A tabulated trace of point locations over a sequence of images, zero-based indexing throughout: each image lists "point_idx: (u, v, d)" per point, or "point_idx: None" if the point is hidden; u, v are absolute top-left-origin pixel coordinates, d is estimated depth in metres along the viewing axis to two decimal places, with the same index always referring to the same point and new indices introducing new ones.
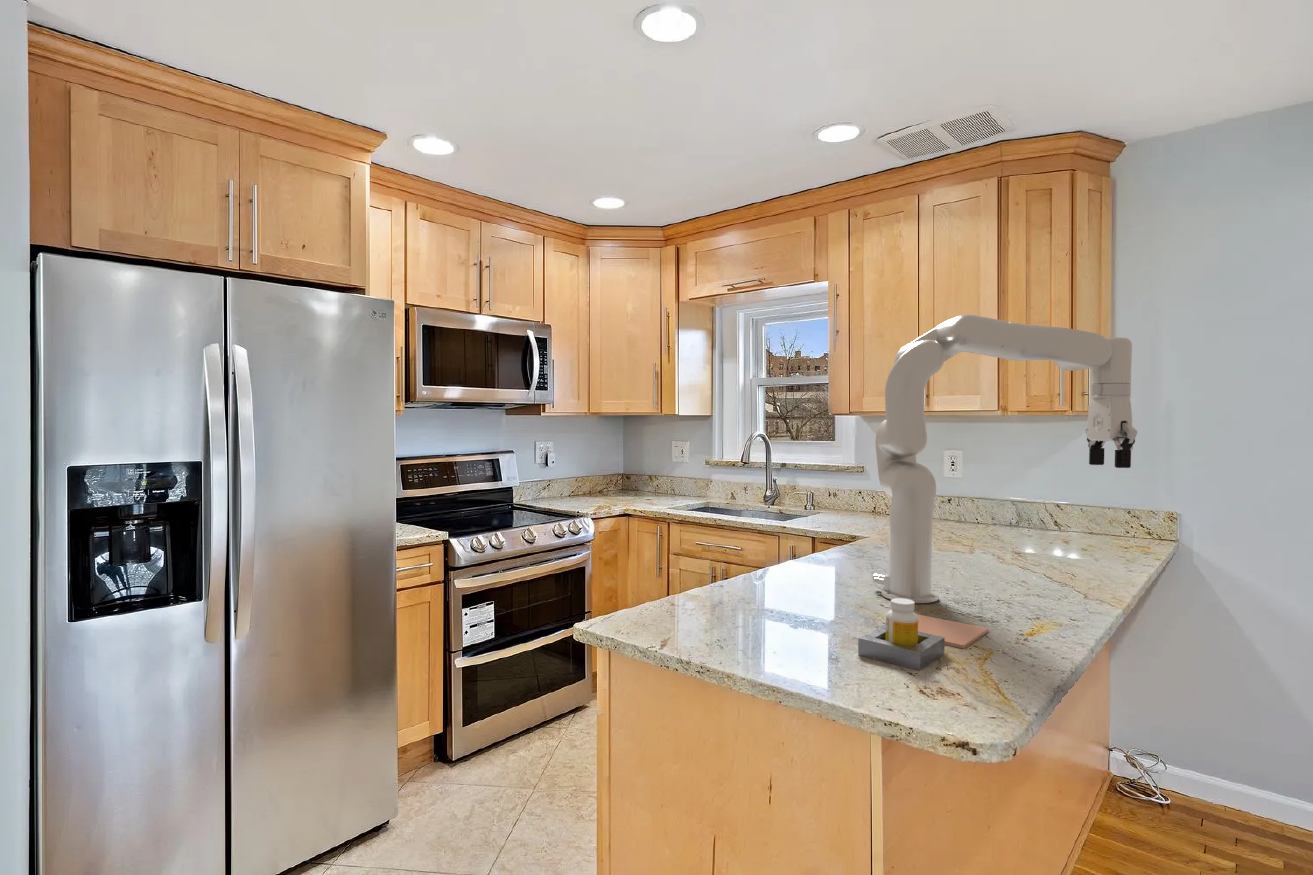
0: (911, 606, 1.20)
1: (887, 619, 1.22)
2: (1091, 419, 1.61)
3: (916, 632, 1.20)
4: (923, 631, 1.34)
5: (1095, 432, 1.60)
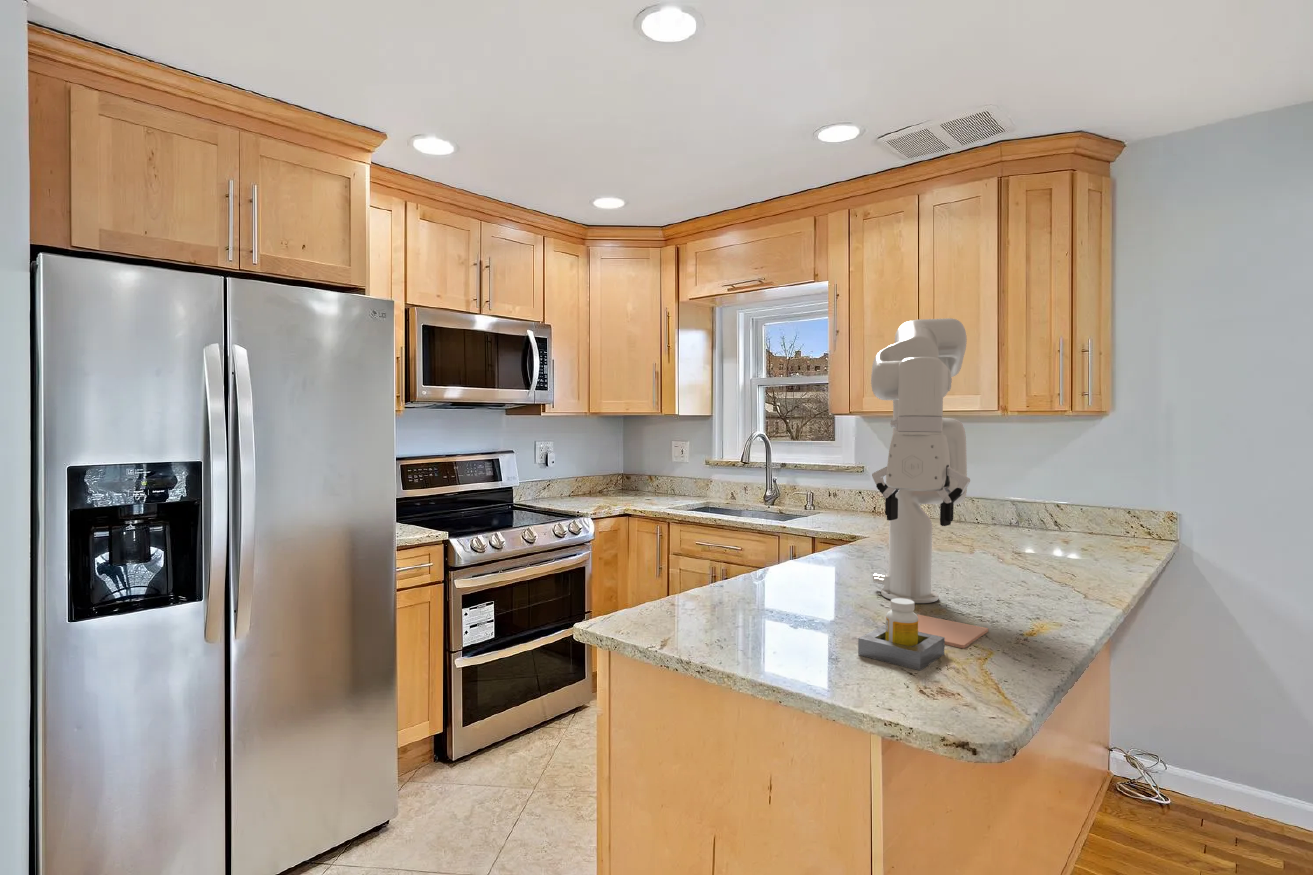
0: (911, 606, 1.20)
1: (887, 619, 1.22)
2: (898, 462, 1.23)
3: (916, 632, 1.20)
4: (923, 631, 1.34)
5: (907, 479, 1.22)
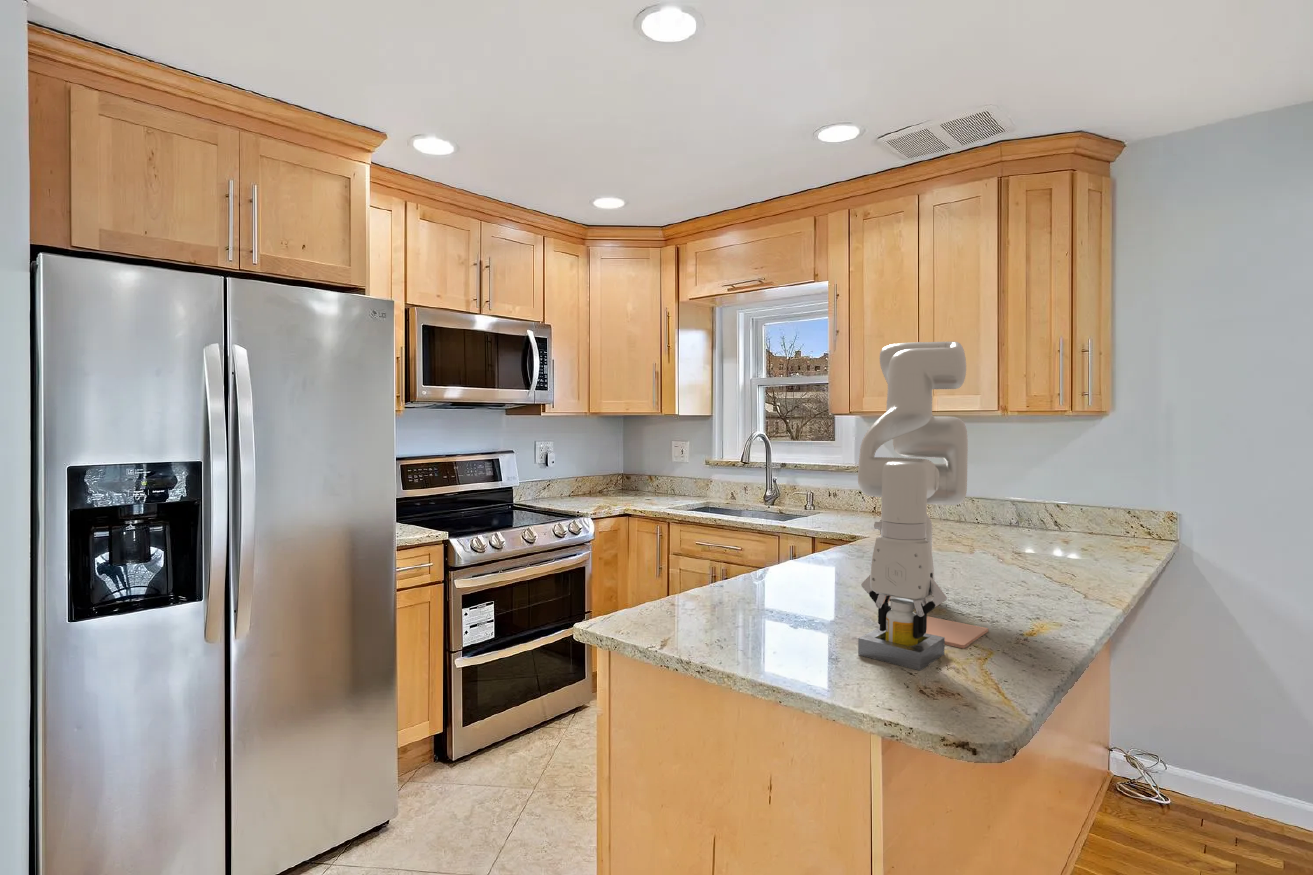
0: (911, 606, 1.20)
1: (887, 619, 1.22)
2: (882, 567, 1.21)
3: None
4: None
5: (891, 585, 1.20)
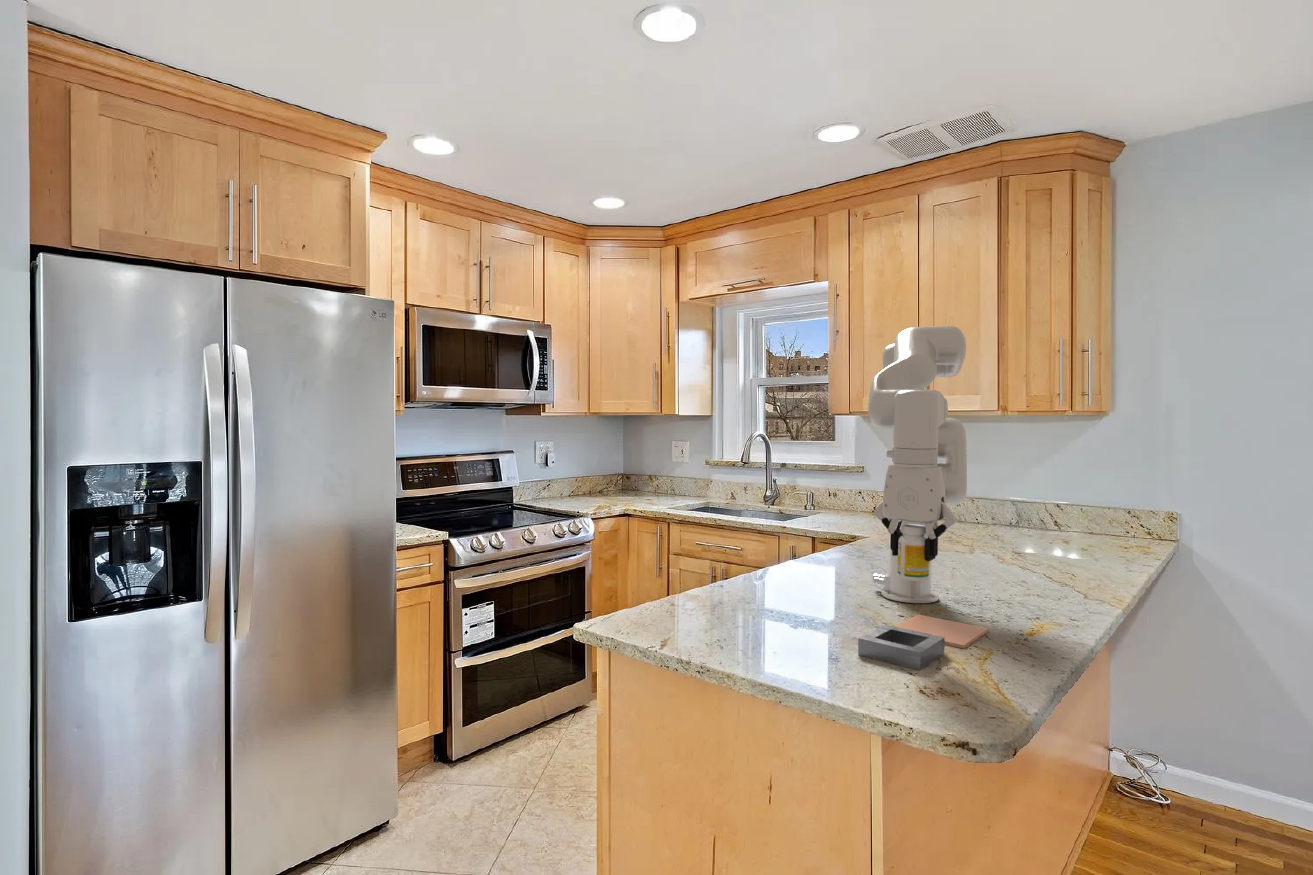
0: (923, 530, 1.24)
1: (899, 543, 1.25)
2: (894, 493, 1.25)
3: None
4: (923, 631, 1.34)
5: (903, 510, 1.24)
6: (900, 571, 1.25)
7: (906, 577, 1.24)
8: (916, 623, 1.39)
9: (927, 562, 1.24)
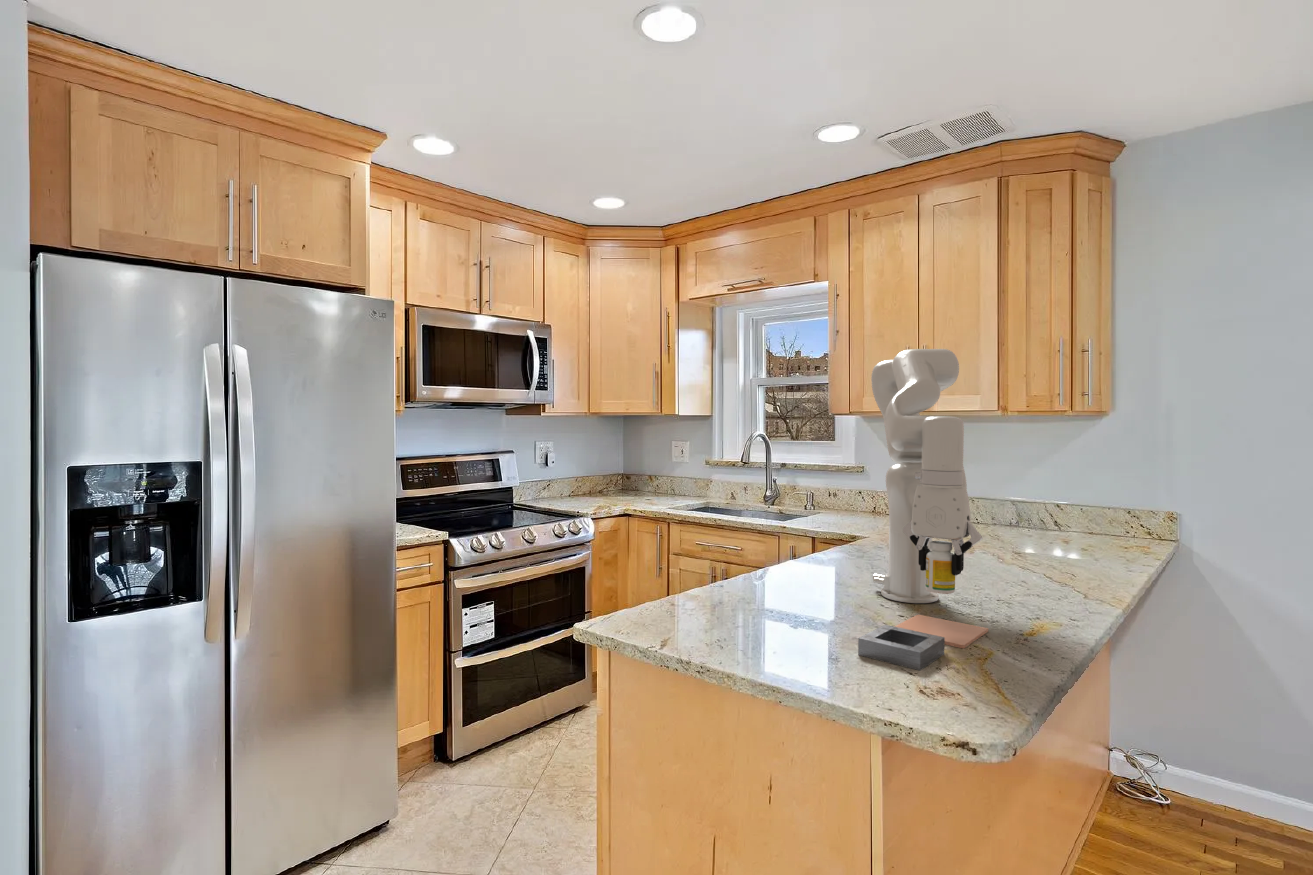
0: (950, 546, 1.33)
1: (927, 559, 1.35)
2: (922, 511, 1.34)
3: None
4: (923, 631, 1.34)
5: (931, 528, 1.33)
6: (928, 584, 1.34)
7: (934, 590, 1.33)
8: (916, 623, 1.39)
9: (954, 576, 1.33)
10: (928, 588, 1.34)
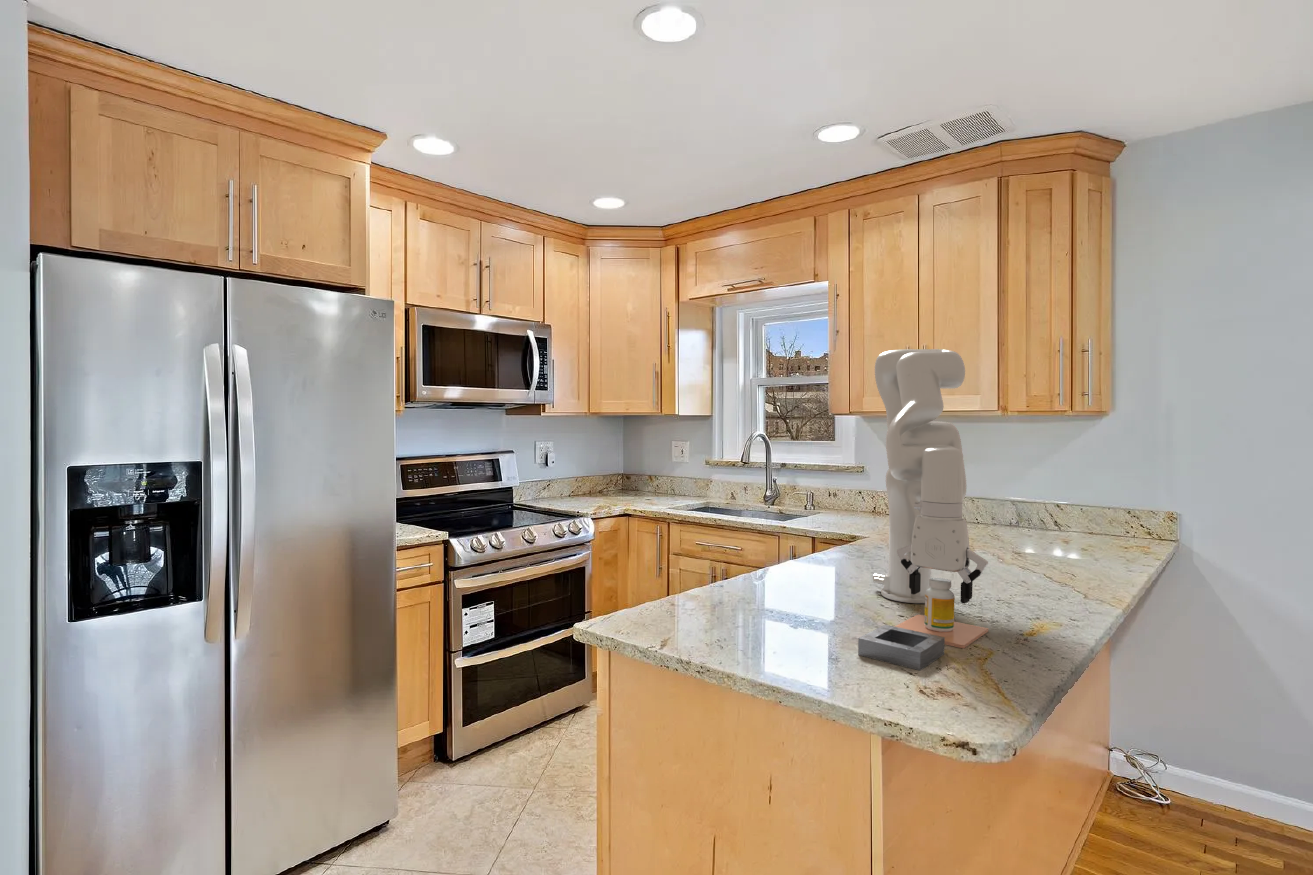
0: (948, 584, 1.34)
1: (926, 596, 1.35)
2: (922, 542, 1.35)
3: (953, 608, 1.34)
4: (923, 631, 1.34)
5: (931, 559, 1.34)
6: (927, 622, 1.35)
7: (933, 628, 1.34)
8: (916, 623, 1.39)
9: (952, 614, 1.34)
10: (927, 626, 1.35)
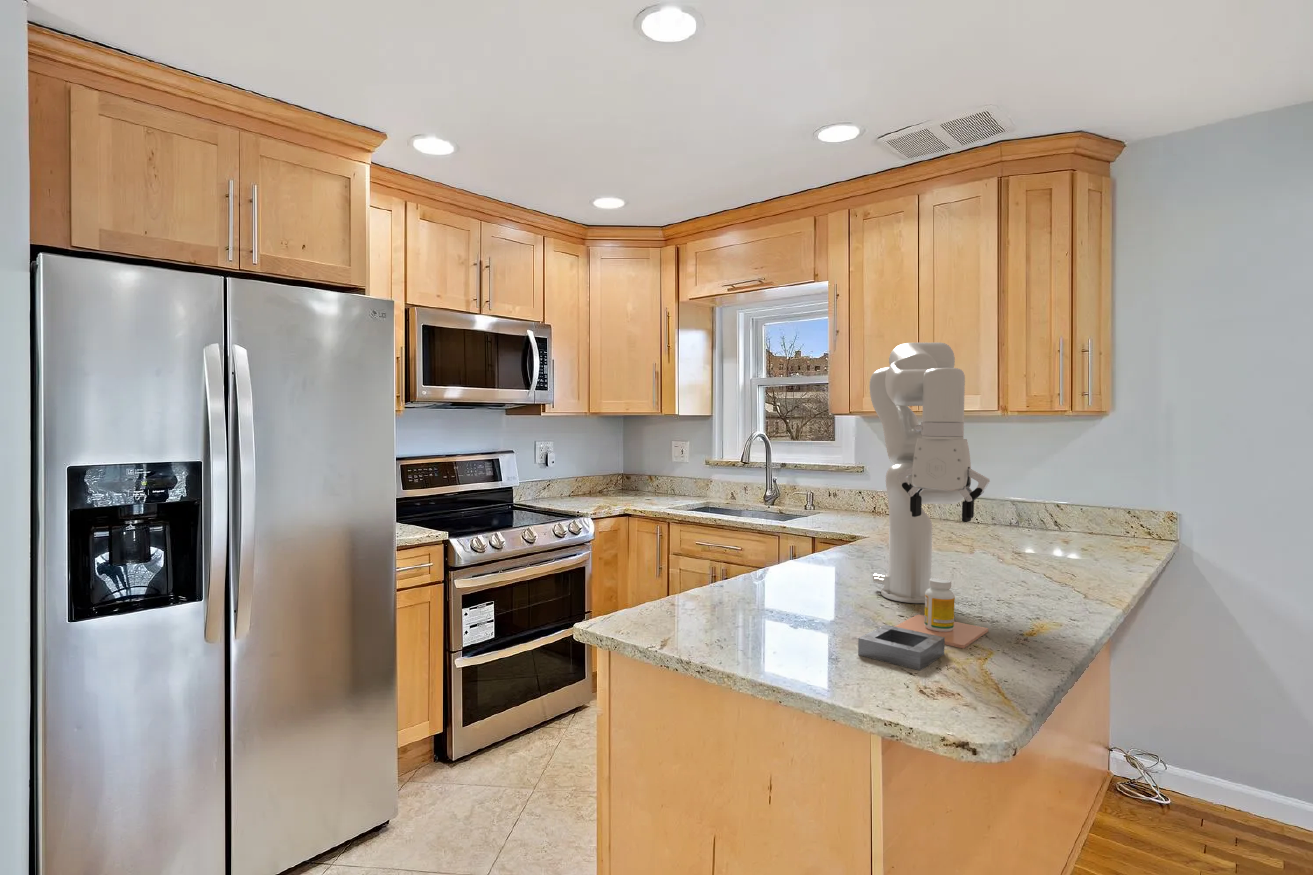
0: (949, 584, 1.34)
1: (926, 596, 1.35)
2: (923, 463, 1.34)
3: (953, 608, 1.34)
4: (923, 631, 1.34)
5: (932, 479, 1.33)
6: (927, 622, 1.35)
7: (933, 628, 1.34)
8: (916, 623, 1.39)
9: (952, 614, 1.34)
10: (927, 626, 1.35)
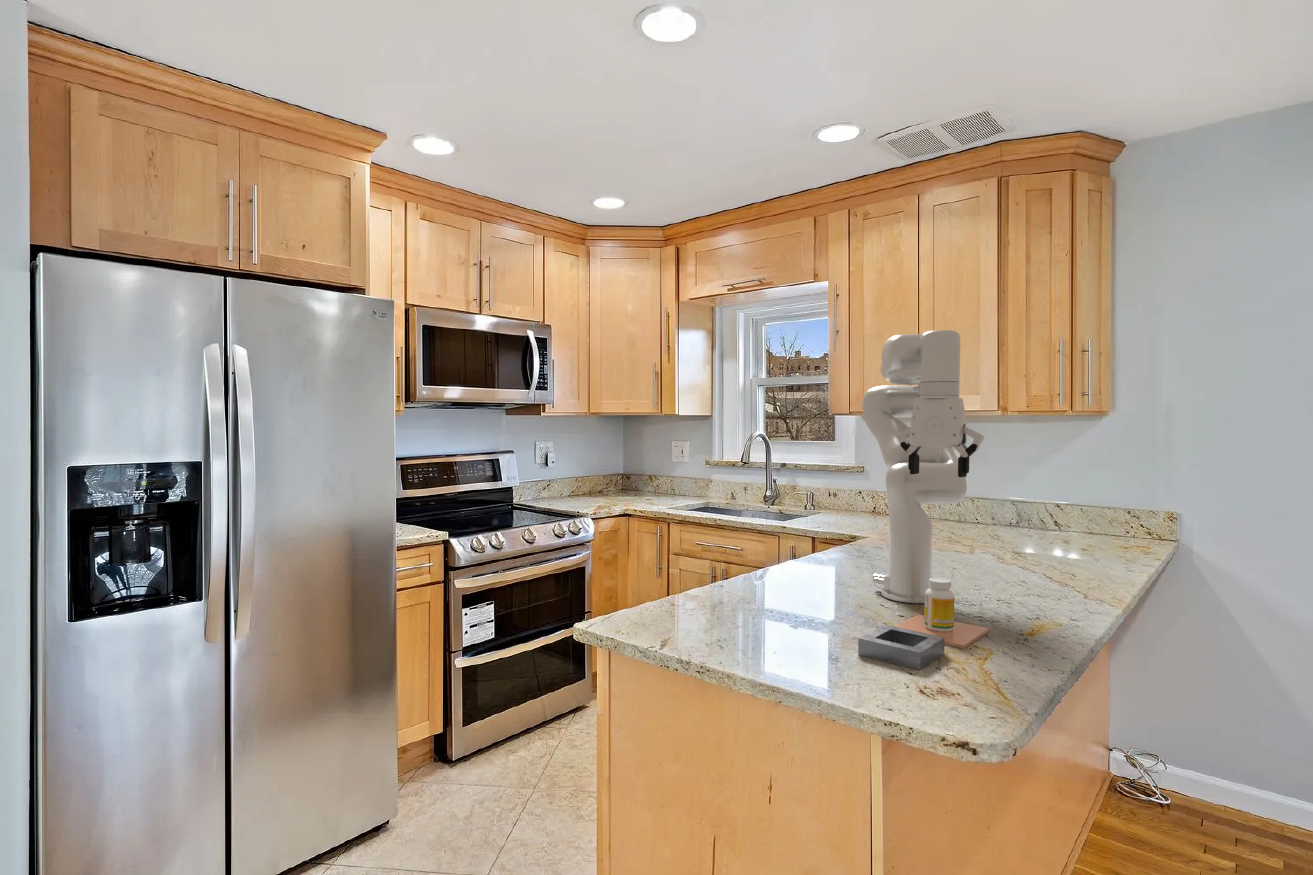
0: (948, 584, 1.34)
1: (926, 596, 1.35)
2: (921, 422, 1.40)
3: (953, 608, 1.34)
4: (923, 631, 1.34)
5: (929, 437, 1.39)
6: (927, 622, 1.35)
7: (933, 628, 1.34)
8: (916, 623, 1.39)
9: (952, 614, 1.34)
10: (927, 626, 1.35)
